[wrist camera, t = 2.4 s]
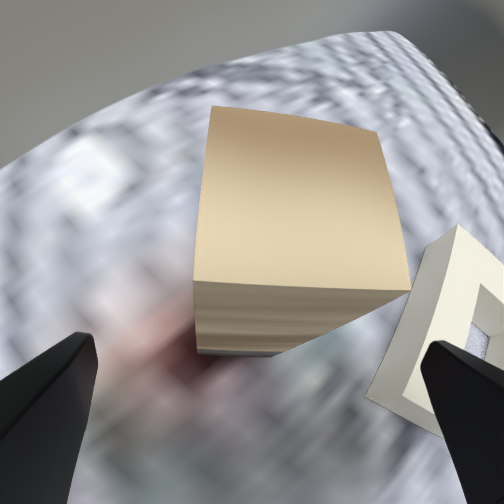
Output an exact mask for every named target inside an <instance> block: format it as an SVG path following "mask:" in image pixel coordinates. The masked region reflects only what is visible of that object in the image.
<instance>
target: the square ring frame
mask: <svg viewBox="0 0 504 504" xmlns="http://www.w3.org/2000/svg"><path fill="white" fill-rule="evenodd" d="M471 322H472V323H473V324H474V325H475V326H476V327H478V328H479V329H480V330H481V331H483V332H484V333H485V334H486V335H487V336H489V337H490V339H489V343H488V347H487V351H486V355H485V359H484V361H486V362H488V363H490V364H492V365H494V366H496V367H498V368H500V369H502V370H504V265H503V264H502V263H501V262H500V261H499V260H498V259H497V258H496V257H495V256H493V255H492V254H491V253H490V252H489V251H488V250H487V249H486V248H485V247H484V246H483V245H482V244H480V243H479V242H478V241H477V240H476V239H475V238H474V237H473V236H471V235H470V234H469V233H468V232H467V231H466V230H464V229H463V228H462V227H461V226H460V225H459V224H457V225H456V226H454V227H453V228H452V229H450V230H449V231H448V232H446V233H445V234H444V235H443V236H441V237H440V238H438V239H437V240H436V241H434V242H433V243H432V244H430V245H429V246H428V247H426V248H425V252H424V255H423V258H422V261H421V264H420V267H419V270H418V273H417V276H416V279H415V282H414V284H413V287H412V290H411V293H410V295H409V298H408V301H407V303H406V306H405V309H404V311H403V314H402V316H401V319H400V321H399V324H398V326H397V329H396V331H395V333H394V336H393V338H392V340H391V343H390V345H389V347H388V349H387V352H386V354H385V356H384V358H383V361H382V363H381V365H380V367H379V369H378V371H377V373H376V375H375V377H374V379H373V382H372V384H371V386H370V388H369V390H368V392H367V393H366V395H365V397H367V398H368V399H370V400H372V401H374V402H376V403H377V404H379V405H381V406H383V407H384V408H386V409H388V410H390V411H392V412H394V413H395V414H397V415H399V416H401V417H403V418H405V419H406V420H408V421H410V422H412V423H414V424H416V425H418V426H420V427H422V428H424V429H425V430H427V431H429V432H431V433H433V434H435V435H437V436H439V437H441V438H443V439H444V437H443V434H442V431H441V429H440V426H439V424H438V422H437V419H436V417H435V414H434V411H433V408H432V405H431V402H430V399H429V395H428V392H427V389H426V386H425V383H424V380H423V377H422V374H421V371H420V364H421V361H422V359H423V357H424V355H425V353H426V351H427V349H428V346H429V344H430V343H431V342H432V341H437V340H445V341H447V342H449V343H451V344H453V345H455V346H457V347H459V348H461V349H463V350H464V347H465V344H466V340H467V337H468V333H469V329H470V326H471Z"/></svg>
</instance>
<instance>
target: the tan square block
mask: <svg viewBox="0 0 504 504" xmlns="http://www.w3.org/2000/svg"><path fill="white" fill-rule="evenodd" d="M411 290H412V289H411V282H410V275H409V269H408V263H407V257H406V251H405V245H404V240H403V235H402V230H401V225H400V220H399V215H398V211H397V206H396V202H395V198H394V194H393V189H392V185H391V181H390V178H389V174H388V170H387V166H386V162H385V159H384V155H383V152H382V148H381V145H380V142H379V138H378V135H377V132H374V131H370V130H365V129H361V128H356V127H352V126H347V125H343V124H338V123H333V122H328V121H322V120H317V119H311V118H305V117H299V116H293V115H287V114H280V113H273V112H266V111H258V110H249V109H240V108H230V107H220V106H212V108H211V115H210V122H209V129H208V137H207V144H206V152H205V161H204V169H203V178H202V186H201V196H200V205H199V215H198V226H197V236H196V248H195V260H194V273H193V293H194V311H195V328H196V343H197V355H213V356H237V357H272V356H275V355H277V354H279V353H282V352H284V351H287V350H289V349H291V348H294V347H296V346H298V345H301V344H303V343H305V342H307V341H310V340H312V339H314V338H317V337H319V336H321V335H323V334H325V333H328V332H330V331H332V330H334V329H336V328H338V327H340V326H343V325H345V324H347V323H349V322H351V321H353V320H355V319H357V318H359V317H361V316H363V315H365V314H367V313H369V312H371V311H373V310H375V309H377V308H379V307H381V306H383V305H385V304H387V303H389V302H391V301H393V300H395V299H397V298H398V297H400V296H402V295H404V294H406V293H408V292H410V291H411Z"/></svg>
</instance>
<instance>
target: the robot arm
mask: <svg viewBox="0 0 504 504" xmlns="http://www.w3.org/2000/svg"><path fill="white" fill-rule="evenodd" d="M97 369H98V358H97V353H96V348H95V343H94V338H93V336H92V335H91V334H90V333H85V332H75V333H73V334H71V335H70V336H68V337H67V338H65V339H63V340H62V341H60V342H59V343H57V344H56V345H54V346H53V347H51V348H49V349H48V350H46V351H45V352H43V353H42V354H40V355H39V356H37V357H35V358H34V359H32V360H31V361H29V362H28V363H26V364H25V365H23V366H22V367H20V368H19V369H17V370H16V371H14V372H13V373H11V374H10V375H8V376H6V377H5V378H3V379H2V380H0V504H67V500H68V496H69V491H70V487H71V482H72V478H73V474H74V470H75V466H76V462H77V458H78V454H79V451H80V447H81V443H82V440H83V436H84V433H85V429H86V425H87V422H88V417H89V412H90V406H91V400H92V395H93V389H94V384H95V379H96V374H97ZM420 371H421V374H422V377H423V380H424V383H425V386H426V389H427V392H428V395H429V399H430V402H431V405H432V408H433V411H434V414H435V417H436V419H437V422H438V424H439V426H440V429H441V431H442V434H443V437H444V439H445V442H446V444H447V447H448V450H449V452H450V455H451V458H452V460H453V463H454V466H455V469H456V472H457V474H458V477H459V480H460V483H461V486H462V489H463V492H464V495H465V499H466V502H467V504H504V370H502V369H500V368H498V367H496V366H494V365H492V364H490V363H488V362H486V361H484V360H482V359H480V358H478V357H476V356H474V355H472V354H470V353H469V352H467V351H465V350H463V349H461V348H459V347H457V346H455V345H453V344H451V343H449V342H447V341H445V340H437V341H432V342H431V343H430V344H429V346H428V349H427V351H426V353H425V355H424V357H423V359H422V361H421V364H420Z"/></svg>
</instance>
